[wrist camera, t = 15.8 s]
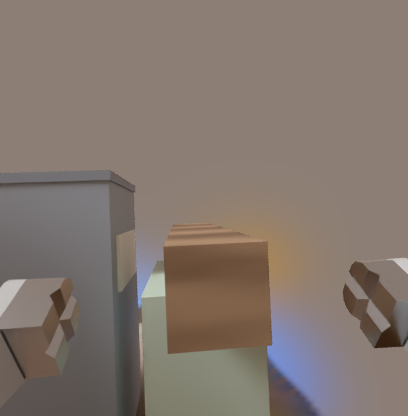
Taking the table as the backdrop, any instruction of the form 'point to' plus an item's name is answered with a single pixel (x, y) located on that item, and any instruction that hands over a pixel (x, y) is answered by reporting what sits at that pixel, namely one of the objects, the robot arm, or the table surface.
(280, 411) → the table surface
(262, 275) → the walnut rod
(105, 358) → the block
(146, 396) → the green block
